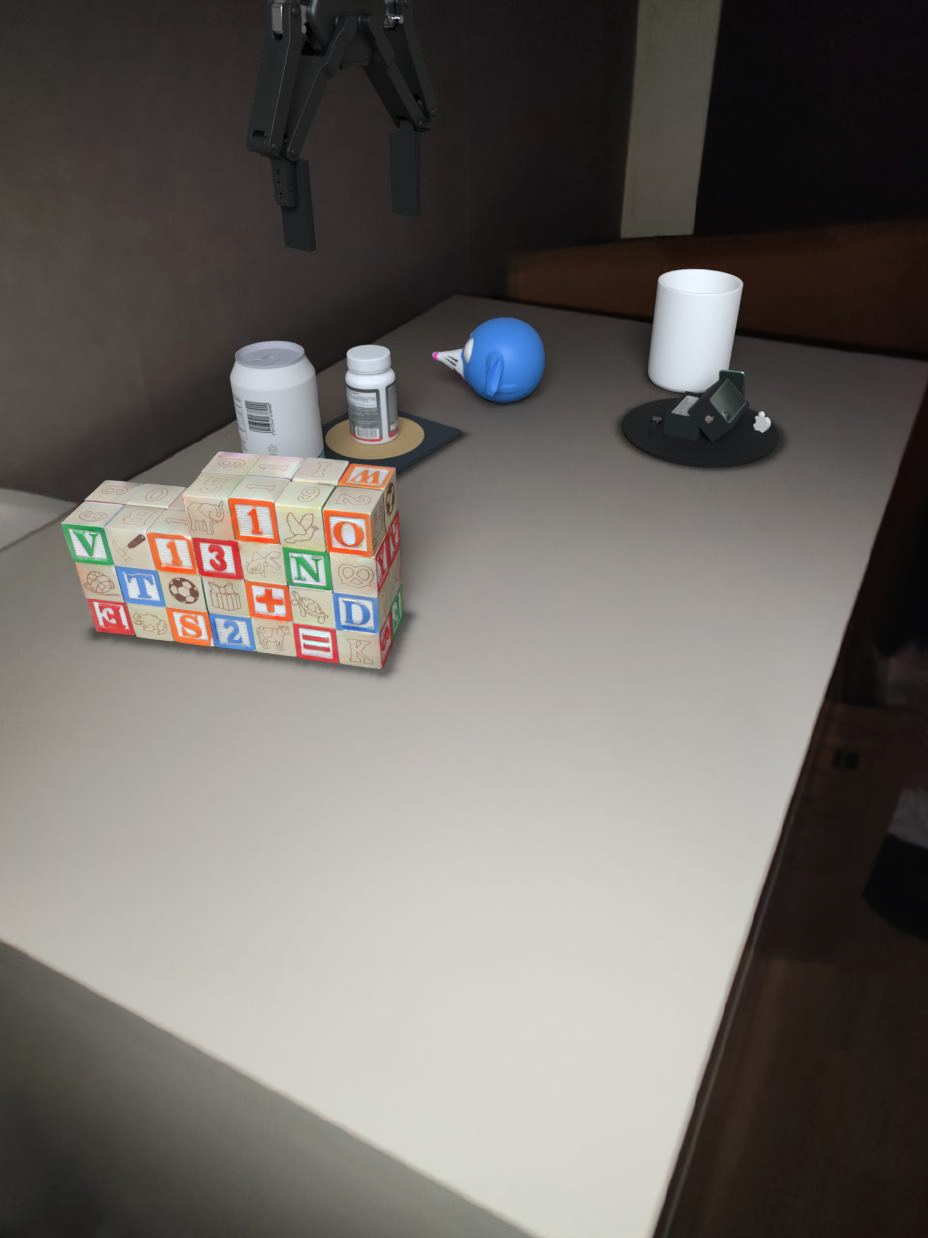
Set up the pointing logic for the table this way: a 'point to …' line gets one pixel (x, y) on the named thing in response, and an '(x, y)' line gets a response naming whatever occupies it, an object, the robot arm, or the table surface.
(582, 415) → the table surface
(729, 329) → the mug
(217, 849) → the table surface
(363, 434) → the pill bottle
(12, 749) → the table surface
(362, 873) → the table surface
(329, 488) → the stack of blocks
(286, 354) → the beverage can
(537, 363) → the blue mole toy
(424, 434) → the mat
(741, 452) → the apple device display stand
